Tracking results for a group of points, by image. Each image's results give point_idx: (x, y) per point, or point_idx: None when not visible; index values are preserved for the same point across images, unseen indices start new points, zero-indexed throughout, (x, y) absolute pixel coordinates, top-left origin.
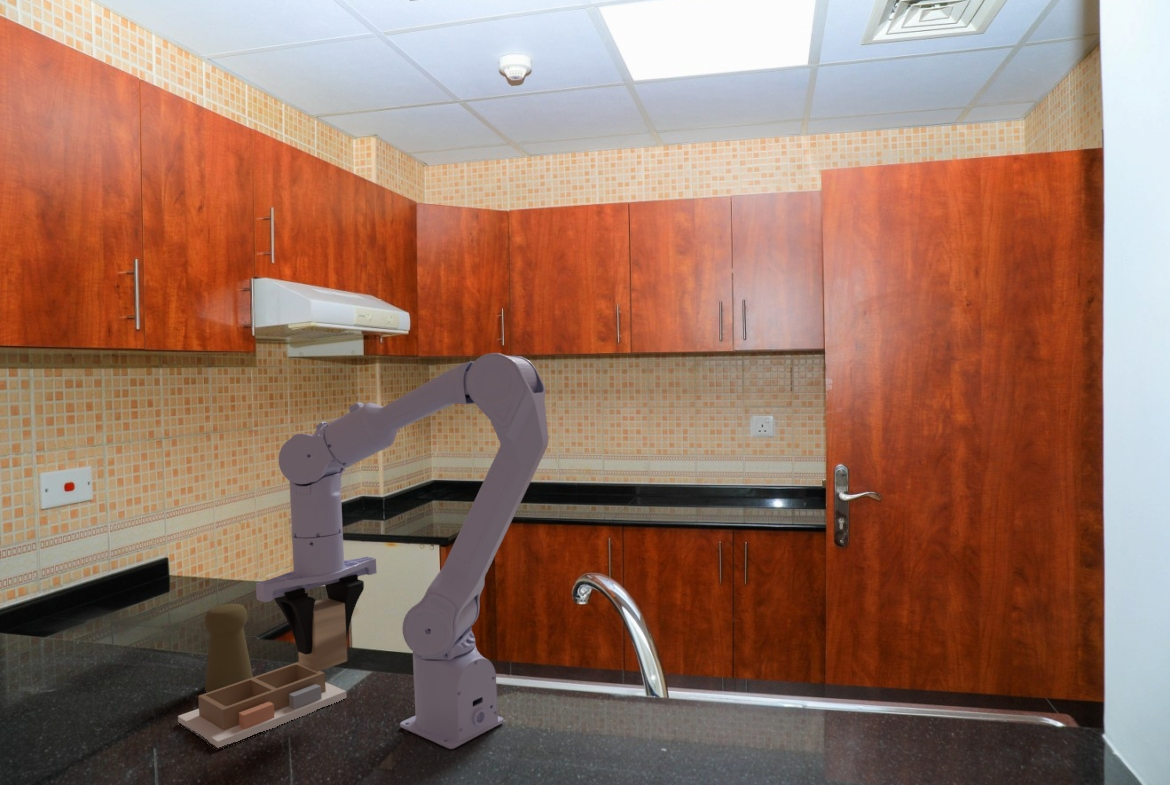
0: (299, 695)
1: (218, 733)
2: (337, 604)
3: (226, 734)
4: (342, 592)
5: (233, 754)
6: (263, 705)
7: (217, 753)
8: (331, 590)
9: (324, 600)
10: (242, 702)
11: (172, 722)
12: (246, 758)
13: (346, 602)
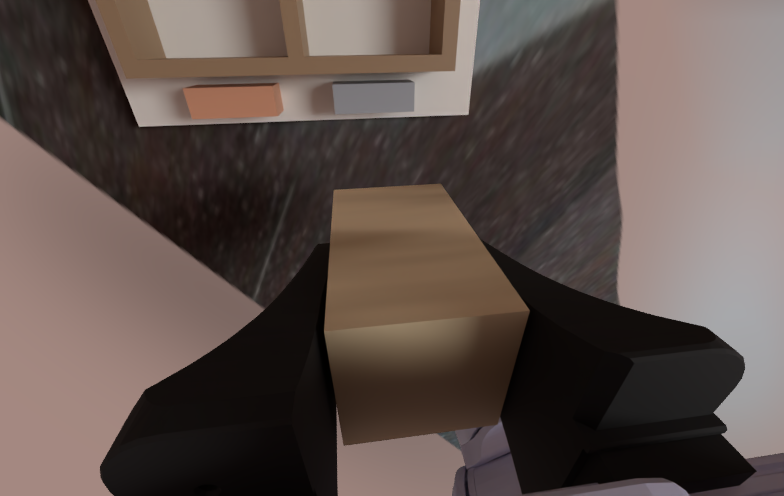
0: (351, 113)
1: (142, 79)
2: (469, 422)
3: (161, 103)
4: (528, 459)
5: (180, 166)
6: (252, 101)
7: (147, 133)
8: (553, 384)
9: (486, 341)
10: (188, 75)
11: None
12: (201, 202)
13: (504, 427)
